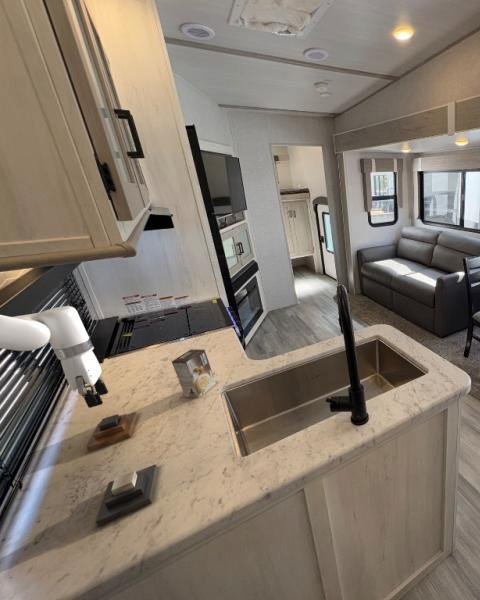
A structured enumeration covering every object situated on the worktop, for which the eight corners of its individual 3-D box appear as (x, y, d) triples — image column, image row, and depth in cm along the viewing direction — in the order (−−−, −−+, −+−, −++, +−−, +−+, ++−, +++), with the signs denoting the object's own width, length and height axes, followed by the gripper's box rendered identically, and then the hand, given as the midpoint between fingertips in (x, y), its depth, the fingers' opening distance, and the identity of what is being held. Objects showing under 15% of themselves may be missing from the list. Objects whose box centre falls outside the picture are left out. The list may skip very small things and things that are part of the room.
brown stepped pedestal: (89, 453, 92) (83, 443, 91) (100, 429, 102) (95, 419, 101) (131, 438, 97) (126, 428, 96) (137, 416, 107) (133, 407, 105)
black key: (101, 431, 96) (98, 426, 95) (104, 423, 99) (102, 418, 98) (117, 426, 98) (115, 420, 97) (120, 418, 101) (118, 413, 100)
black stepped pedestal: (99, 528, 71) (92, 516, 69) (111, 488, 80) (105, 477, 79) (152, 504, 75) (147, 493, 74) (158, 469, 85) (153, 459, 84)
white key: (114, 496, 74) (111, 490, 73) (118, 484, 77) (114, 478, 77) (135, 488, 76) (132, 482, 75) (137, 476, 79) (135, 470, 78)
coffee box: (202, 383, 124) (191, 348, 118) (216, 384, 123) (205, 348, 117) (184, 398, 115) (170, 361, 110) (199, 399, 114) (186, 361, 109)
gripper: (67, 341, 94) (91, 390, 100) (43, 365, 80) (73, 421, 86) (99, 334, 97) (120, 382, 104) (82, 356, 83) (107, 410, 90)
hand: (98, 399), depth 95 cm, fingers open, 5 cm apart
